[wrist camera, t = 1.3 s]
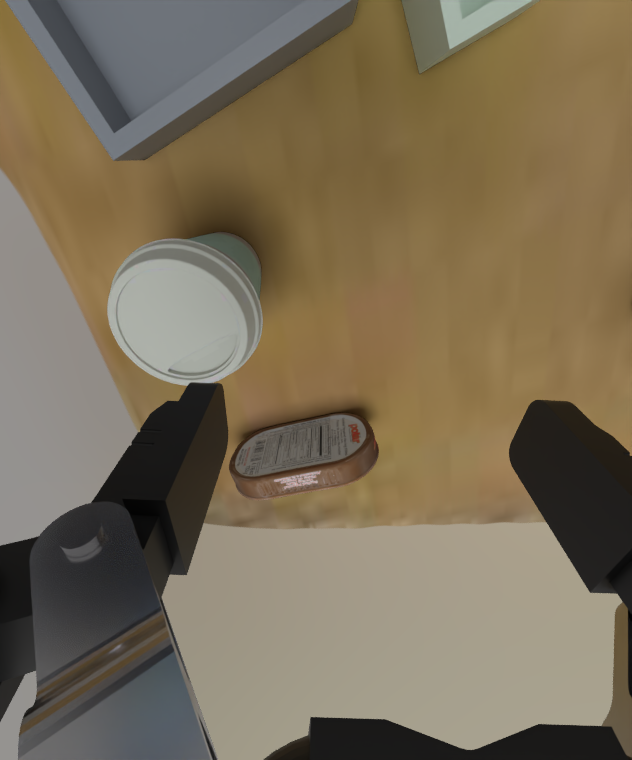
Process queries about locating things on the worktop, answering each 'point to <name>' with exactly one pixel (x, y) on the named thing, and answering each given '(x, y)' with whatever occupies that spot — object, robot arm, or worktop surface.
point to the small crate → (454, 24)
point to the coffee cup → (188, 307)
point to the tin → (304, 456)
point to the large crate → (170, 57)
